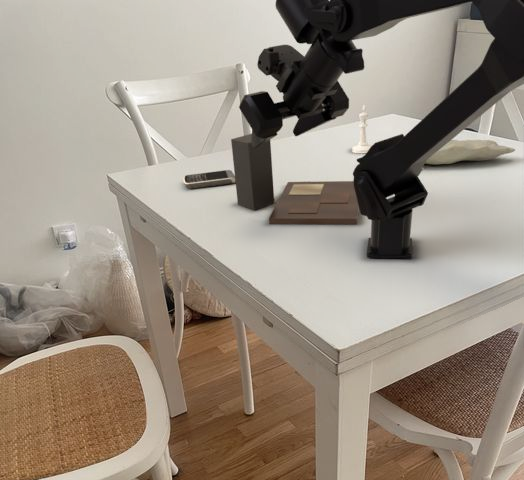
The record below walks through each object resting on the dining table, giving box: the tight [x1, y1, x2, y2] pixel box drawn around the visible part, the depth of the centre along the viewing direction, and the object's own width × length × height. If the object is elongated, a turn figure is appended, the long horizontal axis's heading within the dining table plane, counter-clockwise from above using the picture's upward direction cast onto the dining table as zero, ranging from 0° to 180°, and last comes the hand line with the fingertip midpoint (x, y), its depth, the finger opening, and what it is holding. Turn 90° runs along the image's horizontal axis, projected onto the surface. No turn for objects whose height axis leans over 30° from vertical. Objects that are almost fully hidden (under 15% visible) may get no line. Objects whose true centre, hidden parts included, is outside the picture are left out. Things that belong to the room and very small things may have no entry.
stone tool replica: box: [424, 139, 516, 166], centre depth 113 cm, size 15×5×25 cm
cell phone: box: [182, 169, 236, 190], centre depth 115 cm, size 6×11×1 cm, turn 99°
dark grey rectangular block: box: [230, 133, 275, 211], centre depth 99 cm, size 5×5×12 cm
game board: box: [268, 180, 360, 225], centre depth 99 cm, size 20×15×1 cm
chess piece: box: [351, 104, 372, 154], centre depth 124 cm, size 5×5×10 cm
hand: (274, 139), depth 91 cm, fingers open, 9 cm apart
